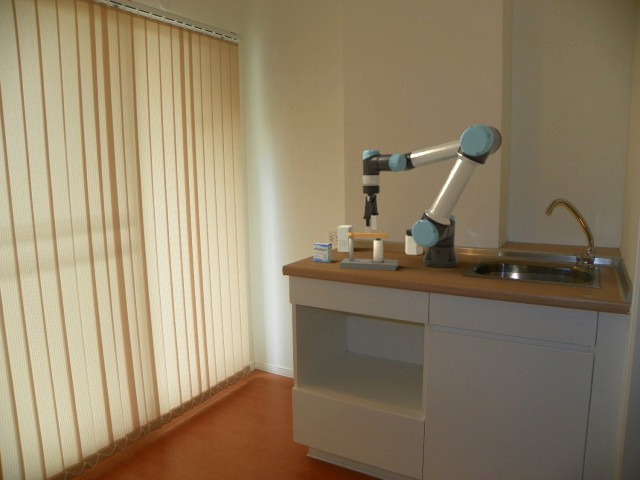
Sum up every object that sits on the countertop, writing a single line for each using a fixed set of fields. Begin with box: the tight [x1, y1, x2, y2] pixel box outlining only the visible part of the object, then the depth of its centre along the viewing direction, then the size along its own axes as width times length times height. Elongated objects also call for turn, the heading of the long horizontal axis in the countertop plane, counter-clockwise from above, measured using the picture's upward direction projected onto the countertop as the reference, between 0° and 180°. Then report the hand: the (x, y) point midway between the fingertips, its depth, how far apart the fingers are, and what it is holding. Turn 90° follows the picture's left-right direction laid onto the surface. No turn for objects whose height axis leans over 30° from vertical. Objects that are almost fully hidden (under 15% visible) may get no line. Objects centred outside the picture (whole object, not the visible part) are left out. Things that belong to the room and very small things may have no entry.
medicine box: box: [312, 242, 333, 264], centre depth 232 cm, size 8×4×9 cm, turn 62°
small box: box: [336, 224, 354, 253], centre depth 259 cm, size 8×6×13 cm
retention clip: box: [348, 232, 389, 239], centre depth 214 cm, size 17×3×2 cm, turn 74°
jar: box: [404, 228, 424, 256], centre depth 247 cm, size 9×8×12 cm
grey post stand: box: [339, 237, 399, 272], centre depth 215 cm, size 24×10×14 cm, turn 74°
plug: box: [372, 238, 384, 263], centre depth 214 cm, size 4×4×13 cm
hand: (371, 231), depth 224 cm, fingers open, 13 cm apart
